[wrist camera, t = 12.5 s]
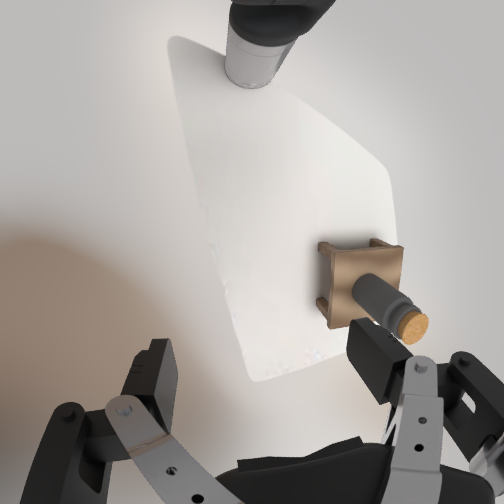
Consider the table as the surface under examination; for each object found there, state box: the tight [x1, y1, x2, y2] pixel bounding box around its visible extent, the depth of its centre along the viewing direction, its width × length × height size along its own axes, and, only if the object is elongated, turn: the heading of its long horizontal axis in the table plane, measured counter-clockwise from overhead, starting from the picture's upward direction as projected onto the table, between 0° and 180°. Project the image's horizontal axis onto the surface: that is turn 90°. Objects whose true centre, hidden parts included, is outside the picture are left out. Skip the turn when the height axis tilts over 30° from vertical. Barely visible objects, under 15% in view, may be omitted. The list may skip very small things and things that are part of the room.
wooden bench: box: [316, 239, 404, 330], centre depth 49 cm, size 14×14×9 cm
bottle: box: [352, 273, 429, 345], centre depth 38 cm, size 6×6×15 cm
